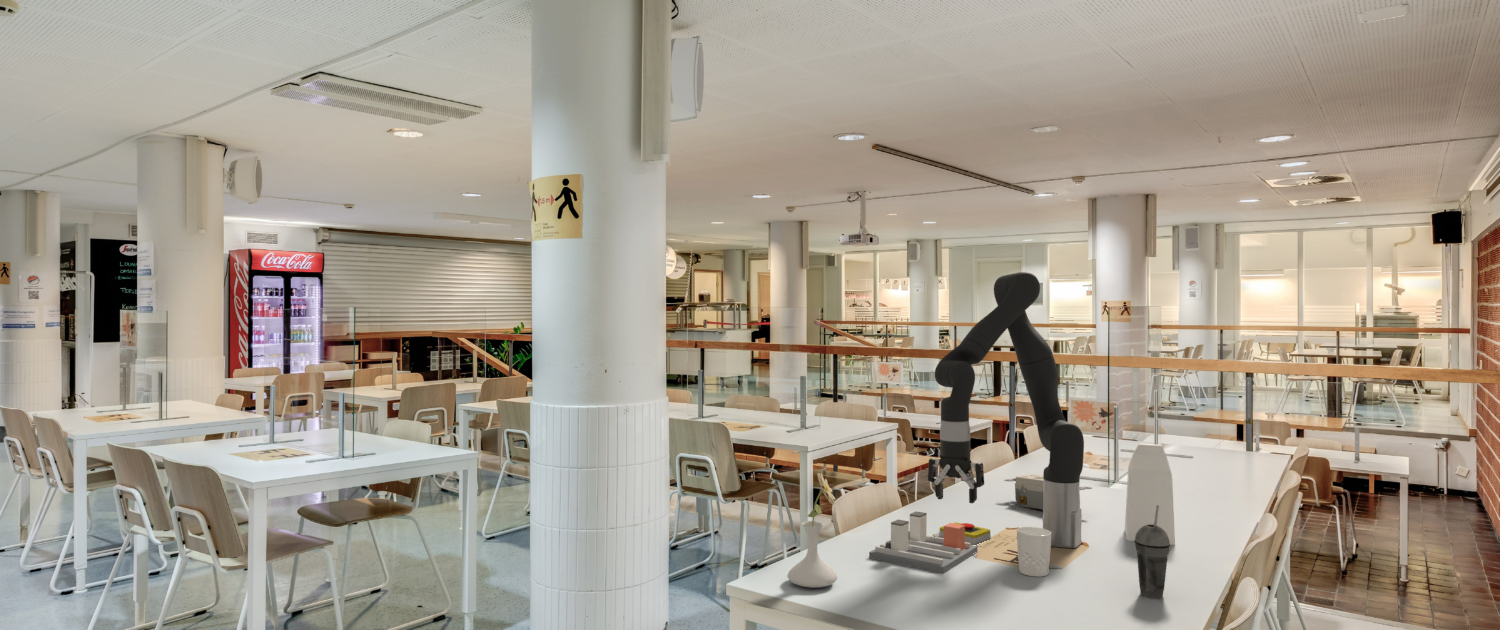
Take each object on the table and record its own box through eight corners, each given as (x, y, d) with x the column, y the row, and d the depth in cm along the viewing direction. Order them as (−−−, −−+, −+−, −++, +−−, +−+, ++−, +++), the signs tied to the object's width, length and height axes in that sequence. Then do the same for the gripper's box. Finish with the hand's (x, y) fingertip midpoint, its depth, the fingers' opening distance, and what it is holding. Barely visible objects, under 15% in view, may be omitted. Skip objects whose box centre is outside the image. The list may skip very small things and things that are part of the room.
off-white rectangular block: (926, 540, 220) (926, 513, 220) (919, 544, 217) (920, 515, 217) (915, 538, 222) (916, 511, 222) (909, 542, 219) (909, 514, 218)
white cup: (1050, 569, 202) (1051, 528, 202) (1051, 579, 194) (1051, 536, 194) (1016, 566, 204) (1017, 525, 204) (1016, 575, 197) (1016, 533, 197)
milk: (1126, 540, 229) (1127, 446, 229) (1124, 530, 240) (1125, 440, 239) (1175, 545, 224) (1176, 449, 224) (1171, 534, 235) (1172, 443, 235)
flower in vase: (823, 595, 182) (824, 482, 182) (778, 586, 188) (779, 476, 188) (848, 579, 193) (849, 472, 193) (805, 571, 199) (806, 467, 199)
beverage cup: (1127, 589, 187) (1128, 501, 187) (1157, 589, 188) (1158, 501, 188) (1145, 601, 180) (1146, 509, 180) (1176, 600, 181) (1178, 509, 181)
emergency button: (979, 532, 221) (931, 521, 231) (979, 548, 221) (931, 537, 231) (997, 526, 227) (949, 516, 238) (996, 542, 227) (949, 531, 238)
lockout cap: (958, 552, 211) (958, 528, 211) (943, 549, 213) (943, 525, 213) (964, 548, 214) (964, 525, 214) (950, 545, 216) (950, 522, 216)
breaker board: (977, 552, 216) (977, 537, 216) (943, 573, 198) (943, 557, 198) (906, 539, 228) (907, 524, 228) (869, 557, 210) (869, 542, 210)
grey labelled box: (1073, 519, 250) (1071, 485, 250) (1000, 505, 274) (999, 475, 275) (1098, 514, 255) (1096, 481, 256) (1025, 501, 280) (1023, 472, 281)
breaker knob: (908, 550, 211) (908, 521, 211) (901, 553, 208) (901, 524, 208) (897, 548, 213) (898, 519, 213) (890, 551, 210) (890, 522, 210)
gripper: (987, 438, 212) (988, 501, 212) (934, 433, 220) (935, 494, 220) (976, 442, 206) (977, 507, 206) (923, 437, 214) (924, 500, 214)
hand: (955, 500), depth 213 cm, fingers open, 8 cm apart
